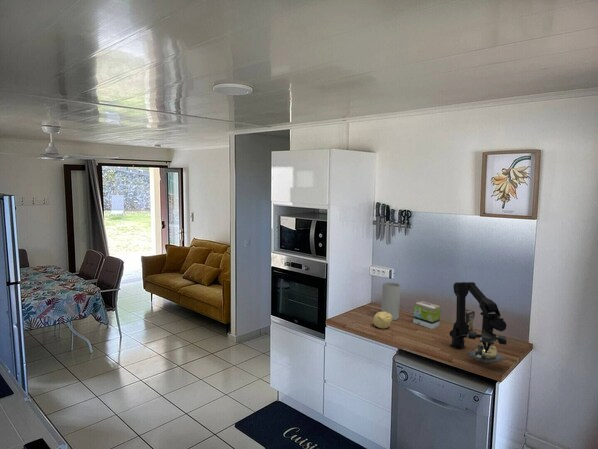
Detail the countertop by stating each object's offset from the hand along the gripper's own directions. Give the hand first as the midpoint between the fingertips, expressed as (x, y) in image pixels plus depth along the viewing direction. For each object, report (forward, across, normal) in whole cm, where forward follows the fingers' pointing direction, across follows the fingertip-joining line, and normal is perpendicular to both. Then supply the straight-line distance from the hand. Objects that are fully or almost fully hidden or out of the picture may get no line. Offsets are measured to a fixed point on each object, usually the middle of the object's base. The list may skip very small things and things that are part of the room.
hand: (486, 352), depth 221 cm
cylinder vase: (+6, -66, +49) cm, 82 cm away
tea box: (+6, -40, +48) cm, 63 cm away
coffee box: (+7, -14, +42) cm, 44 cm away
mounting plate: (+7, 0, +10) cm, 12 cm away
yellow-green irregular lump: (+5, -1, +7) cm, 9 cm away
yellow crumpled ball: (+6, -66, +28) cm, 71 cm away
